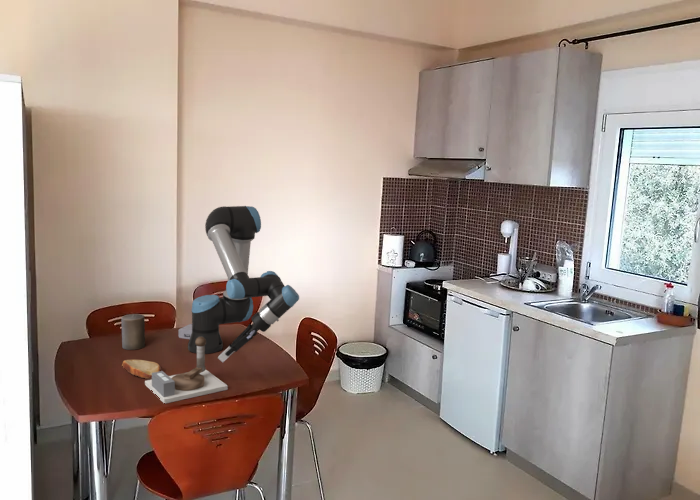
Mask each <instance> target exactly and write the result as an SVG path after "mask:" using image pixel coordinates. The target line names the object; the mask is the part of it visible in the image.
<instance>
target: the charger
mask: <svg viewBox="0 0 700 500" xmlns="http://www.w3.org/2000/svg"><path fill="white" fill-rule="evenodd" d="M191 334H192V323H189V324H187V325H184V326H183V327H181V328H179V329H178V338H179V339H185V340H190V337H191Z"/></svg>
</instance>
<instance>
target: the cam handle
mask: <svg viewBox="0 0 700 500" xmlns="http://www.w3.org/2000/svg"><path fill="white" fill-rule="evenodd" d="M195 343H196V345H197V353H196V367H195V368H193V369H191V370H190V371H188V372H183V373H177V374H178V375H177V374H174V375H175V376H173V377H172V378H171V379H172V380H173V381H175V389H178V390H193V389H197V388H200V387H202V386H203V385H204V376H203V375H201V374H200V373H201V372H204V371H205V370H207V369H206V365H205V364H206V354H205V344H206V339H205V338H204V337H198V338H197V339H196V341H195Z"/></svg>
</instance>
